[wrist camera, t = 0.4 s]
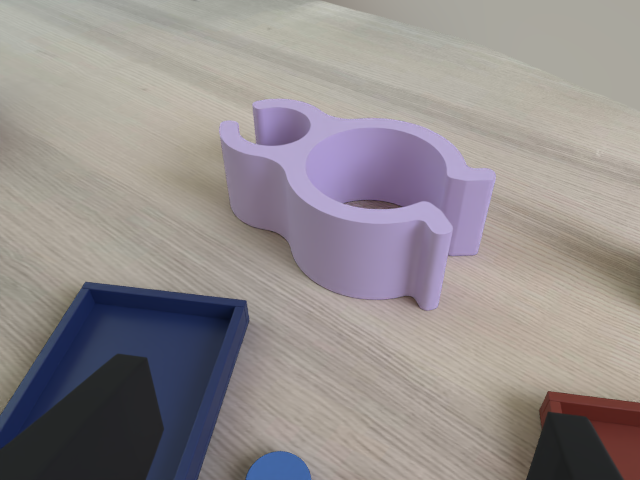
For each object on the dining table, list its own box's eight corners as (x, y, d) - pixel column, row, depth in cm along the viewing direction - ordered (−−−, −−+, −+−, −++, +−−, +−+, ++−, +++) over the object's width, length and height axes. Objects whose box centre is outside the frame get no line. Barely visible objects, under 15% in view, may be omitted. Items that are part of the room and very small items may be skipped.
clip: (196, 221, 46) (180, 148, 41) (291, 149, 53) (287, 81, 49) (416, 335, 37) (428, 259, 33) (493, 231, 45) (512, 157, 40)
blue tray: (154, 611, 26) (144, 597, 25) (-69, 569, 27) (-89, 553, 26) (249, 319, 38) (246, 300, 37) (93, 301, 40) (85, 281, 38)
